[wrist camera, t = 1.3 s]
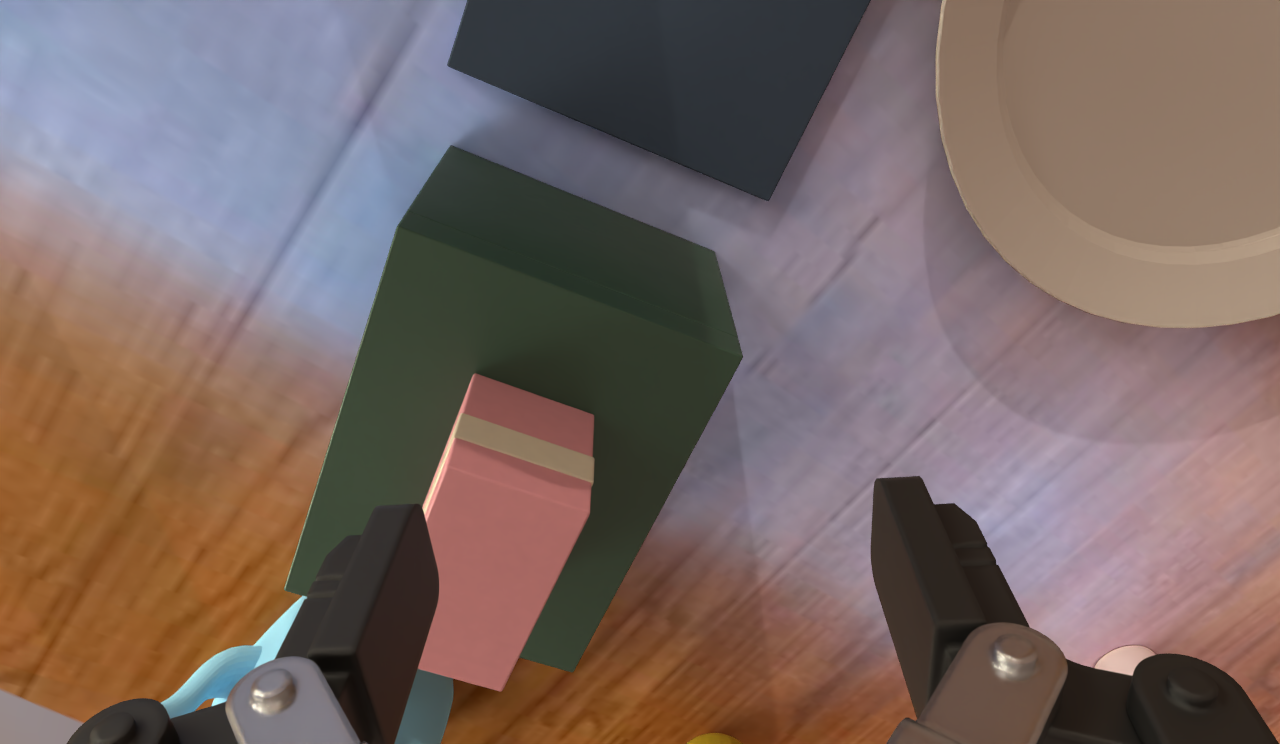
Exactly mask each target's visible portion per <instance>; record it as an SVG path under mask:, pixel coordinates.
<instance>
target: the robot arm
mask: <svg viewBox="0 0 1280 744" xmlns="http://www.w3.org/2000/svg"><path fill="white" fill-rule="evenodd" d="M871 564H872V572H873V578H874V582H875V586H876V589H877V592H878V595H879V599H880V602H881V605H882V608H883V611H884V614H885V618H886V621H887V624H888V627H889V630H890V633H891V637H892V640H893V643H894V646H895V649H896V653H897V656H898V659H899V662H900V665H901V668H902V672H903V675H904V678H905V681H906V684H907V687H908V691H909V694H910V697H911V700H912V703H913V707H914V710H915V713H916V716H917V720H916V721H914V720H912V719H910V718H905V719H903V720H902V721H901V722H900V724H899V725H898V726H897V728H896V729H895V731H894V732H893V734H892V735H891V737H890V739H889V740H888V742H887V744H1279V743H1278V741H1277V740H1276V738H1275V737H1274V735H1273V734H1272V732H1271V731H1270V729H1269V728H1268V726H1267V725H1266V723H1265V722H1264V720H1263V719H1262V717H1261V715H1260V714H1259V712H1258V711H1257V709H1256V708H1255V706H1254V705H1253V703H1252V702H1251V700H1250V699H1249V697H1248V696H1247V694H1246V693H1245V691H1244V690H1243V689H1242V687H1241V686H1240V685H1239V684H1238V683H1237V682H1236V681H1235V680H1234V679H1233V678H1232V677H1230V676H1229V675H1228V674H1227V673H1225V672H1224V671H1222V670H1220V669H1219V668H1217V667H1215V666H1213V665H1211V664H1209V663H1207V662H1205V661H1202V660H1200V659H1197V658H1193V657H1190V656H1186V655H1180V654H1158V655H1153V656H1150V657H1147V658H1145V659H1144V660H1142V661H1141V662H1139V664H1138V665H1137V666H1136V667H1135V670H1134V672H1133V676H1131V675H1126V674H1121V673H1116V672H1111V671H1106V670H1101V669H1096V668H1091V667H1087V666H1083V665H1080V664H1077V663H1074V662H1072V661H1070V660H1067V659H1066V658H1065V656H1064V654H1063V652H1062V651H1061V650H1060V648H1059V647H1058V646H1057V645H1056V644H1055V643H1054V642H1053V641H1052V640H1051V639H1049V638H1048V637H1047V636H1045V635H1043V634H1042V633H1040V632H1038V631H1036V630H1034V629H1032V628H1030V627H1029V625H1028V623H1027V621H1026V619H1025V617H1024V615H1023V613H1022V611H1021V609H1020V607H1019V605H1018V603H1017V601H1016V599H1015V597H1014V595H1013V593H1012V591H1011V589H1010V587H1009V585H1008V583H1007V581H1006V579H1005V577H1004V575H1003V573H1002V571H1001V570H1000V568H999V566H998V565H996V560H995V558H994V556H993V554H992V552H991V550H990V548H989V547H987V542H986V540H985V538H984V536H983V534H982V532H981V530H980V528H979V526H978V524H977V522H976V521H975V520H974V519H972V518H971V517H970V516H969V515H968V514H966V513H965V512H964V511H963V510H962V509H960V508H959V507H958V506H957V505H956V504H954V503H952V504H933V502H932V499H931V497H930V495H929V493H928V491H927V488H926V486H925V484H924V482H923V480H922V478H921V477H920V476H912V477H895V478H877V479H876V480H875V484H874V494H873V513H872V533H871ZM438 598H439V574H438V568H437V564H436V560H435V556H434V552H433V548H432V544H431V539H430V535H429V531H428V527H427V523H426V519H425V515H424V511H423V509H422V507H421V505H420V504H400V505H383V506H376V507H375V508H374V510H373V512H372V514H371V516H370V518H369V520H368V522H367V525H366V527H365V529H364V531H363V533H362V535H350V536H347V537H345V538H344V539H343V540H342V541H341V542H340V543H339V544H338V545H337V546H336V547H335V548H334V549H333V550H332V551H331V552H330V553H328V554H327V555H326V557H325V559H324V561H323V563H322V565H321V567H320V569H319V571H318V573H317V575H316V581H313V583H312V585H311V587H310V589H309V591H308V593H307V599H304V601H303V603H302V605H301V607H300V609H299V611H298V613H297V615H296V617H295V619H294V621H293V623H292V625H291V627H290V629H289V631H288V633H287V635H286V637H285V639H284V641H283V643H282V645H281V647H280V649H279V651H278V653H277V655H276V657H275V659H274V660H271V661H268V662H266V663H264V664H262V665H260V666H258V667H256V668H254V669H253V670H251V671H250V672H249V673H247V674H246V675H245V676H244V677H242V678H241V679H240V680H239V681H238V682H237V683H236V685H235V686H234V687H233V689H232V690H231V691H230V693H229V696H228V698H227V701H226V702H223V703H220V704H217V705H215V706H211V707H208V708H204V709H201V710H198V711H194V712H191V713H188V714H184V715H181V716H178V717H174V718H171V719H170V717H169V714H168V712H167V710H166V708H165V707H164V706H163V705H162V704H161V703H159V702H158V701H155V700H152V699H133V700H128V701H124V702H120V703H118V704H115V705H113V706H110V707H108V708H106V709H104V710H102V711H101V712H99V713H98V714H96V715H94V716H93V717H92V718H90V719H89V720H87V721H86V722H85V723H84V724H83V725H82V726H81V727H79V729H78V730H77V731H76V732H75V733H74V734H73V735H72V737H71V738H70V739H69V741H68V743H67V744H394V743H395V740H396V737H397V734H398V730H399V727H400V724H401V721H402V717H403V714H404V711H405V708H406V705H407V701H408V698H409V695H410V692H411V688H412V685H413V682H414V679H415V675H416V672H417V669H418V666H419V663H420V659H421V656H422V653H423V650H424V646H425V643H426V640H427V637H428V633H429V630H430V627H431V624H432V621H433V617H434V614H435V611H436V608H437V604H438Z"/></svg>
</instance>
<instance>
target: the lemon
mask: <svg viewBox="0 0 1280 744" xmlns="http://www.w3.org/2000/svg"><path fill="white" fill-rule="evenodd" d="M687 744H743V743H742V742H740V741H739V740H737V739H736V738H734V737H732V736H729V735H726V734H721V733H708V734H703V735H700V736H698V737H695V738H694V739H692V740H691V741H689V742H688V743H687Z"/></svg>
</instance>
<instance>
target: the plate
mask: <svg viewBox="0 0 1280 744" xmlns="http://www.w3.org/2000/svg"><path fill="white" fill-rule="evenodd" d="M936 102H937V110H938V118H939V125H940V133H941V139H942V142H943V146H944V150H945V153H946V157H947V161H948V164H949V168H950V172H951V175H952V177H953V179H954V182H955V184H956V186H957V189H958V191H959V193H960V195H961V198H962V200H963V202H964V205H965V207H966V209H967V210H968V212H969V213H970V215H971V217H972V218H973V220H974V221H975V223H976V225H977V226H978V228H979V229H980V231H981V233H982V234H983V236H984V237H985V238H986V239H987V241H988V242H989V243H990V244H991V245H992V246H993V248H994V249H995V250H996V251H997V252H998V253H999V254H1000V256H1001V257H1002V258H1003V259H1004V260H1005V261H1006V262H1007V263H1008V264H1009V265H1010V266H1011V267H1013V268H1014V269H1015V270H1016V271H1017V272H1018V273H1020V274H1021V275H1022V276H1023V277H1024V278H1026V279H1027V280H1028V281H1029V282H1030V283H1031V284H1033V285H1035V286H1036V287H1038V288H1040V289H1041V290H1043V291H1045V292H1046V293H1048V294H1049V295H1051V296H1053V297H1054V298H1056V299H1058V300H1059V301H1061V302H1064V303H1066V304H1068V305H1071V306H1073V307H1075V308H1078V309H1080V310H1082V311H1085V312H1087V313H1089V314H1093V315H1097V316H1100V317H1104V318H1108V319H1111V320H1115V321H1119V322H1123V323H1130V324H1137V325H1145V326H1152V327H1162V328H1201V327H1211V326H1221V325H1231V324H1237V323H1242V322H1247V321H1252V320H1256V319H1261V318H1266V317H1271V316H1274V315H1277V314H1280V0H943V1H942V5H941V11H940V20H939V28H938V37H937V46H936Z"/></svg>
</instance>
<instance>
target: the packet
mask: <svg viewBox="0 0 1280 744" xmlns="http://www.w3.org/2000/svg"><path fill="white" fill-rule="evenodd" d="M593 436H594V415H593V414H590V413H587V412H585V411H582V410H579V409H576V408H573V407H570V406H567V405H565V404H562V403H559V402H556V401H553V400H550V399H547V398H545V397H542V396H539V395H536V394H533V393H530V392H527V391H525V390H522V389H519V388H516V387H513V386H510V385H508V384H505V383H502V382H499V381H496V380H493V379H490V378H488V377H485V376H482V375H479V374H474V375H473V376H472V379H471V382H470V384H469V387H468V389H467V392H466V395H465V397H464V400H463V402H462V405H461V408H460V410H459V413H458V415H457V418H456V421H455V423H454V426H453V428H452V431H451V434H450V436H449V439H448V441H447V444H446V447H445V449H444V452H443V454H442V457H441V460H440V462H439V465H438V468H437V470H436V473H435V475H434V478H433V481H432V483H431V486H430V488H429V491H428V494H427V496H426V499H425V501H424V504H423V507H422V509H423V511H424V515H425V519H426V523H427V527H428V531H429V535H430V539H431V544H432V548H433V552H434V556H435V560H436V564H437V568H438V574H439V598H438V604H437V608H436V611H435V614H434V617H433V621H432V624H431V627H430V630H429V633H428V637H427V640H426V643H425V646H424V650H423V653H422V656H421V659H420V663H419V666H418V669H420V670H424V671H428V672H431V673H435V674H439V675H442V676H446V677H449V678H453V679H457V680H460V681H464V682H468V683H471V684H475V685H479V686H482V687H486V688H489V689H493V690H497V691H502V690H503V689H504V687H505V685H506V683H507V680H508V678H509V676H510V674H511V672H512V670H513V668H514V666H515V664H516V662H517V660H518V658H519V656H520V654H521V652H522V650H523V648H524V646H525V644H526V642H527V640H528V638H529V636H530V634H531V632H532V630H533V628H534V626H535V624H536V622H537V620H538V618H539V616H540V614H541V612H542V610H543V608H544V606H545V604H546V602H547V600H548V598H549V596H550V594H551V592H552V590H553V588H554V586H555V583H556V581H557V579H558V577H559V575H560V573H561V571H562V569H563V567H564V565H565V563H566V561H567V559H568V557H569V555H570V553H571V551H572V549H573V547H574V545H575V543H576V541H577V539H578V537H579V535H580V533H581V531H582V529H583V527H584V525H585V523H586V521H587V519H588V517H589V515H590V504H591V487H592V485H593V483H594V461H595V459H594V458H593Z"/></svg>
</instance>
